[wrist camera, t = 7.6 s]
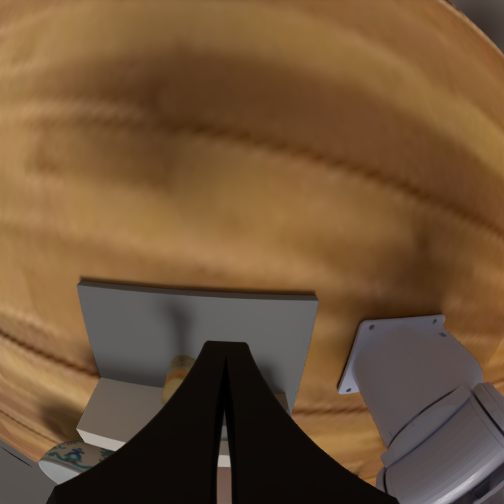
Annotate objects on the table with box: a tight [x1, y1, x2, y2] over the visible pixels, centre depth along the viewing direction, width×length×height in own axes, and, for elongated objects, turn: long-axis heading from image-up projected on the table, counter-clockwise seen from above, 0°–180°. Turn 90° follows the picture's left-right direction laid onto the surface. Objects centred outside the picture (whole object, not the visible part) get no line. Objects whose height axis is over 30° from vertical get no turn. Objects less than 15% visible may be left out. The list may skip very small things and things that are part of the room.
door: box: [76, 281, 319, 467], centre depth 17 cm, size 17×13×7 cm
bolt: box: [161, 355, 290, 416], centre depth 15 cm, size 8×6×3 cm
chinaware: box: [39, 440, 115, 484], centre depth 21 cm, size 15×15×8 cm
